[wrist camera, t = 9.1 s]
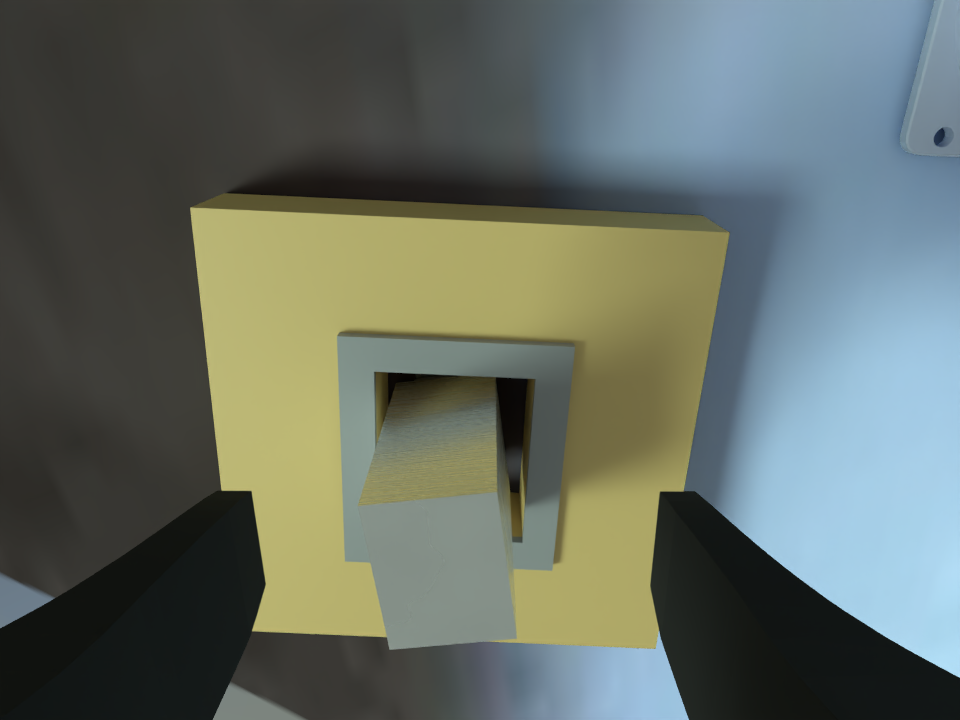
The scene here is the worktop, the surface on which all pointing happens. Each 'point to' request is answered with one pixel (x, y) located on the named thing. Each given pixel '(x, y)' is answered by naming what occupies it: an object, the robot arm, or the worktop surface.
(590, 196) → the worktop surface
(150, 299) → the worktop surface
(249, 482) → the bracket plate
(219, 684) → the robot arm
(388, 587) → the grey rectangular block
